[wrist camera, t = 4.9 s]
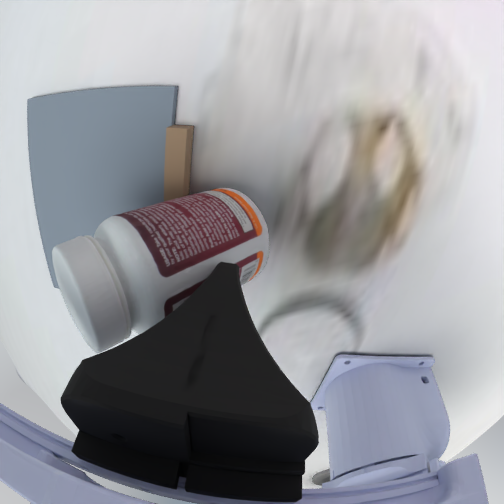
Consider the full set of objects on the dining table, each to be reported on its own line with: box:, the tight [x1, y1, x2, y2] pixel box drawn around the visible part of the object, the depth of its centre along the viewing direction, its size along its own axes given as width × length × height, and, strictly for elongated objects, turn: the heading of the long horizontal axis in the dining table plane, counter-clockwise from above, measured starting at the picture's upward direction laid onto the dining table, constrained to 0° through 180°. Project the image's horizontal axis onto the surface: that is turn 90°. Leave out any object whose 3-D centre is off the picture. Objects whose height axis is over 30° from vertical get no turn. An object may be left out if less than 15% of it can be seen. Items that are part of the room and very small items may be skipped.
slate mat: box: [27, 86, 194, 289], centre depth 15 cm, size 11×14×1 cm
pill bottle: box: [52, 188, 270, 353], centre depth 12 cm, size 5×5×8 cm
